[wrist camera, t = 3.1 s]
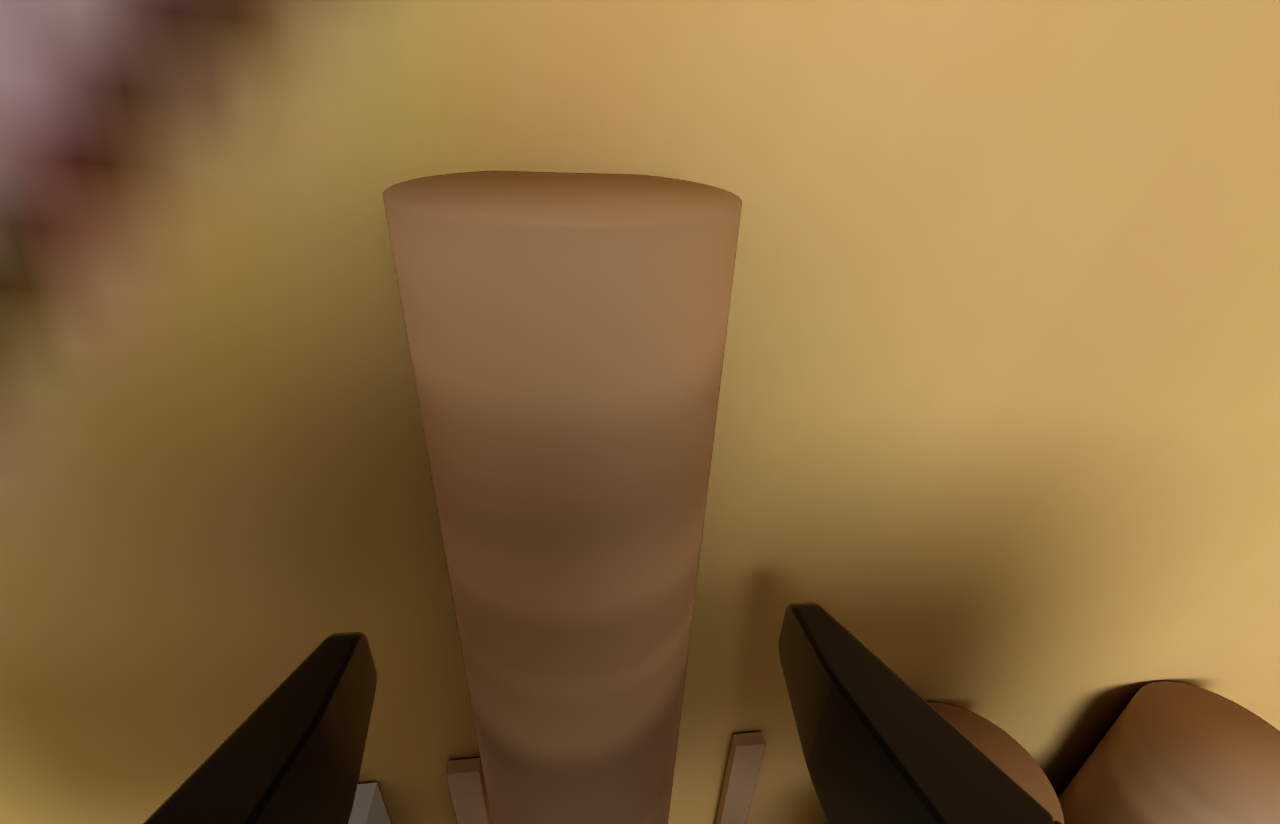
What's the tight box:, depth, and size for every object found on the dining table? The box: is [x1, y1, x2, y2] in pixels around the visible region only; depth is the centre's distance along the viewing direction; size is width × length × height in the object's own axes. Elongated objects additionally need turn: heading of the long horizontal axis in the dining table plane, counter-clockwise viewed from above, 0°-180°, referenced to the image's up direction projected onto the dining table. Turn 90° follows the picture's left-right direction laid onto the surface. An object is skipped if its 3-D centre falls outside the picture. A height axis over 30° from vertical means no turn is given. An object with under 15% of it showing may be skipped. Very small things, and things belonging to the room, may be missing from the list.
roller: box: [383, 171, 742, 824], centre depth 8 cm, size 12×3×3 cm, turn 178°
